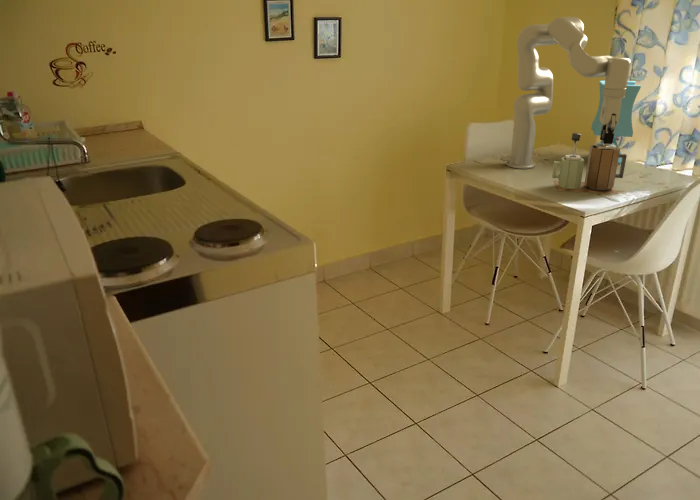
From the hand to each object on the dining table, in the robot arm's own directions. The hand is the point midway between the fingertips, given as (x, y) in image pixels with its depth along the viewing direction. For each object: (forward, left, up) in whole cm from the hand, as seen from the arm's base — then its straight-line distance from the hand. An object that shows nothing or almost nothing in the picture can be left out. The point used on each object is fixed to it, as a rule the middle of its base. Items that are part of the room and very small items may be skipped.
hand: (606, 141), depth 218 cm
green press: (-12, 0, -18) cm, 22 cm away
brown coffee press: (+2, 0, -18) cm, 18 cm away
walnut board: (-5, 0, -19) cm, 20 cm away
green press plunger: (-11, 0, -10) cm, 15 cm away
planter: (+13, +50, -20) cm, 55 cm away
